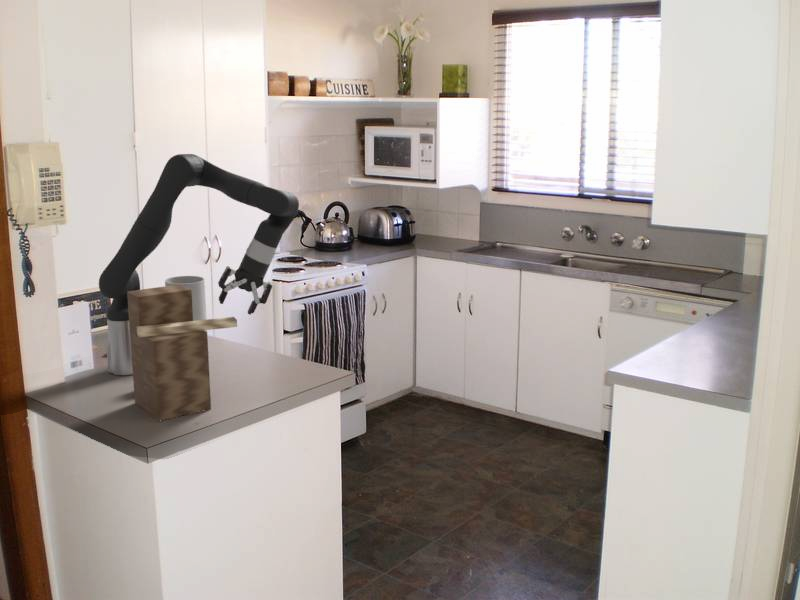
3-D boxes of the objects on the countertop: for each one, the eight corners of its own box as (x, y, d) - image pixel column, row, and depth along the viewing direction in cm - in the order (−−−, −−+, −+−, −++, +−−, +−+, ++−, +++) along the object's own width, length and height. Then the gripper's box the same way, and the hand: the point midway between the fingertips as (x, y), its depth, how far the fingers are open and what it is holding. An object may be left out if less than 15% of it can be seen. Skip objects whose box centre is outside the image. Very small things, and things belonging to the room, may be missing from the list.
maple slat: (234, 323, 237) (233, 316, 237) (237, 326, 234) (236, 319, 234) (137, 333, 227) (136, 326, 226) (139, 337, 224) (138, 329, 223)
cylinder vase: (169, 360, 277) (164, 284, 271) (169, 349, 289) (165, 276, 283) (208, 357, 280) (204, 283, 274) (207, 346, 292) (204, 275, 286)
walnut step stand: (185, 392, 247) (179, 284, 240) (211, 409, 234) (205, 295, 226) (135, 403, 238) (126, 291, 231) (158, 421, 225) (150, 303, 218)
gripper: (236, 251, 233) (212, 303, 235) (283, 270, 238) (260, 321, 241) (233, 244, 239) (210, 295, 242) (279, 262, 245) (256, 312, 248)
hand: (235, 308), depth 241 cm, fingers open, 8 cm apart
